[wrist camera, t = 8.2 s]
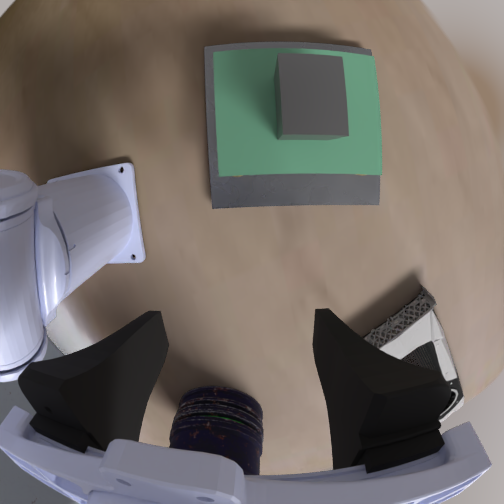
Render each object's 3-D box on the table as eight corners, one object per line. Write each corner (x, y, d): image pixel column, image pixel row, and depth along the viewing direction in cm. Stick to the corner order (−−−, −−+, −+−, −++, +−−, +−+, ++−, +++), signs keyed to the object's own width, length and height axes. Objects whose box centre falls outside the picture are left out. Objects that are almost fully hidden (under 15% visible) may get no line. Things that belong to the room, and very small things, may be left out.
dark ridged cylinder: (276, 425, 28) (278, 534, 14) (206, 437, 30) (189, 533, 16) (240, 376, 25) (227, 516, 11) (162, 393, 27) (124, 504, 13)
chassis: (214, 206, 20) (208, 213, 18) (206, 51, 16) (199, 39, 14) (374, 202, 19) (387, 209, 17) (366, 53, 15) (378, 43, 13)
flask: (20, 327, 26) (-80, 443, 2) (27, 311, 25) (-89, 439, 1) (111, 413, 30) (53, 552, 6) (126, 405, 29) (64, 562, 5)
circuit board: (221, 175, 17) (205, 183, 12) (215, 57, 14) (199, 25, 9) (375, 174, 16) (413, 182, 12) (368, 60, 14) (400, 35, 9)
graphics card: (435, 297, 19) (469, 405, 25) (417, 281, 22) (460, 390, 28) (340, 366, 21) (413, 443, 27) (332, 343, 24) (407, 427, 30)
